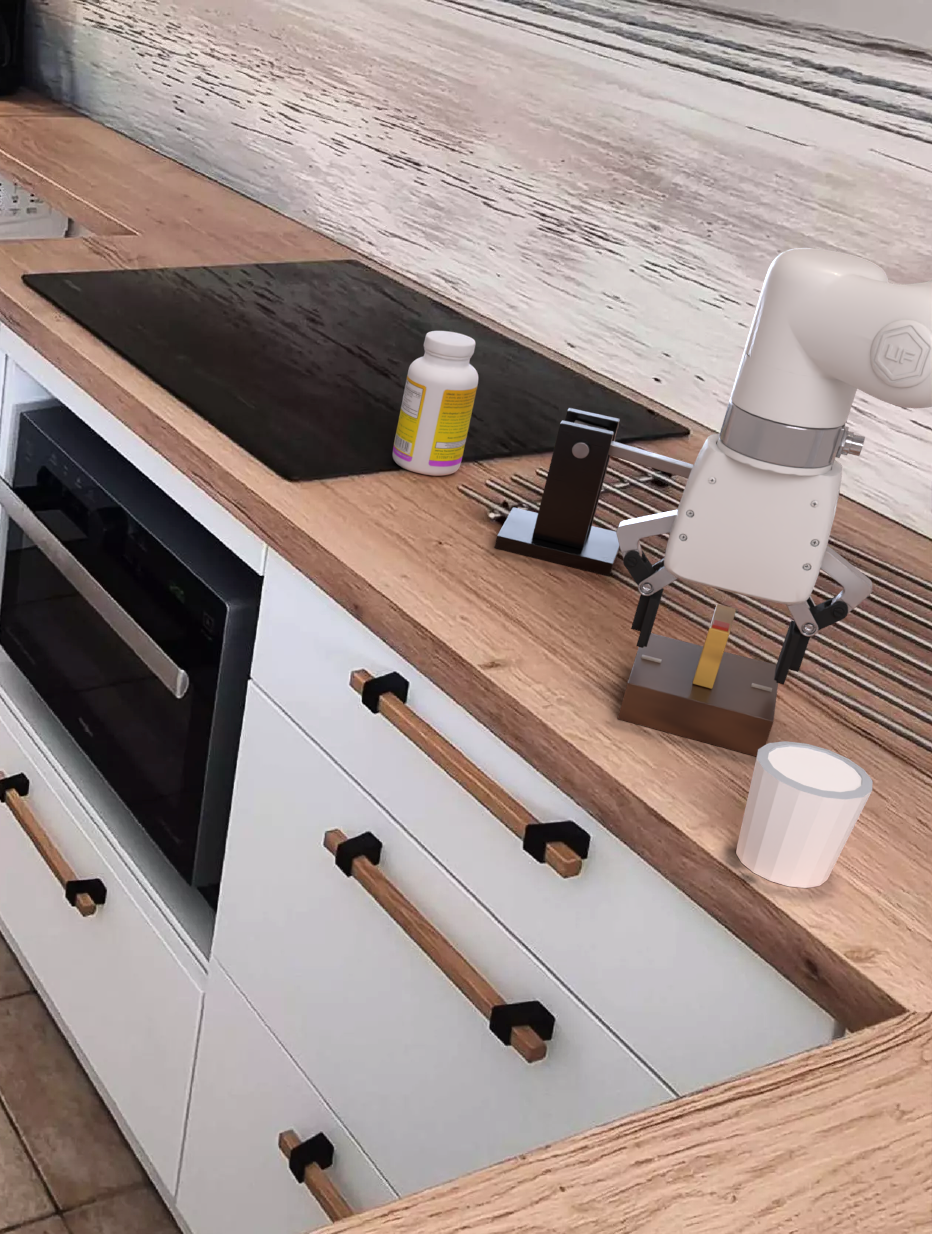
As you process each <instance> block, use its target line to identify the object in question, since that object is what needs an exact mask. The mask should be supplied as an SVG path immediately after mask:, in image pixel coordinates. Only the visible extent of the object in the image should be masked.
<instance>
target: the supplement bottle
mask: <svg viewBox="0 0 932 1234" xmlns="http://www.w3.org/2000/svg"><path fill="white" fill-rule="evenodd" d="M423 349H424V354H423V356H420V357H418V358H416V359H415V360H413V361H412V362H411V363H410V365H409V367H408V371H407V375H406V380H405V386H404V391H403V396H402V402H401V406H400V411H399V416H398V422H397V426H396V431H395V437H394V442H393V447H392V459H393V462H395V463H396V465H397V466H399V467H401V468H402V469H404V470H407V471H409V472H413V473H417V474H421V475H425V476H433V477H435V476H437V477H439V476H440V477H441V476H448V475H452V474H454V473H456V472H457V471H458V470H459V469H460V467H461V464H462V460H463V456H464V450H465V447H466V443H467V437H468V432H469V429H470V423H471V418H472V415H473V414H472V413H473V409H474V404H475V399H476V395H477V390H478V384H479V374H478V370H476V368H475V367H474V366H473V365H472V364H471V363H470V360H471V358H472V356H473V355H474V353H475V349H476V340H475V339H474V338H472V337H471V336H468V335H466V334H463V333H460V332H456V331H455V332H454V331H448V330H432V331H428V332H427V333H426V334H425V338H424V341H423Z"/></svg>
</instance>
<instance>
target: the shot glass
mask: <svg viewBox="0 0 932 1234" xmlns="http://www.w3.org/2000/svg"><path fill="white" fill-rule="evenodd" d="M873 784H874V783H873V779H872V778H871V776H870V775H869V774H868V773H867V772H866V770H865V769H864V768H863V767H862V766H860V765H859V764H857V763H856V762H854V761H853V760H851V759H849V758H848V757H846V756H844V755H841V754H839V753H836V752H835V751H832V750H830V749H827V748H823V747H821V746H817V745H814V744H809V743H806V742H798V741H797V742H795V741H787V740H784V741H777V742H776V741H775V742H767V743H766V745H765V746H763V747H761V748H760V749H758V753H757V757H756V759H755V762H754V768H753V772H752V776H751V780H750V784H749V785H750V786H749V790H748V795H747V798H746V799H747V800H746V805H745V808H744V811H743V817H742V821H741V827H740V830H739V834H738V835H739V836H738V840H737V844H736V851H735V854H736V856H737V858H738V859H739V861H740V863H741V864H742V865H743V866H745V867H746V868H747V869H748V870H749V871H750V872H752V873H754V874H755V875H757V876H759V877H762V878H763V879H765V880H767V881H769V882H773V883H776V884H779V885H783V886H786V887H791V888H801V889H810V888H815V887H820V886H821V885H823V884H825V882H827V881H828V879H829V877H830V875H831V873H832V871H833V869H834V867H835V865H836V864H837V861H838V859H839V858H840V855H841V853H842V852H843V849H844V847H845V846H846V843H847V841H848V840H849V837H850V836H851V834H852V831H853V830H854V828H855V826H856V824H857V822H858V820H859V818H860V816H861V814H862V812H863V810H864V809H865V806H866V804H867V802H868V800H869V798H870V796H871V794H872V792H873Z"/></svg>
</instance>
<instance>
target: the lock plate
mask: <svg viewBox="0 0 932 1234" xmlns="http://www.w3.org/2000/svg"><path fill="white" fill-rule="evenodd" d="M703 646H704V645H701V644H697V643H694V642H693V643H692V642H687V641H684V640H681V639H677V638H673V637H668V636H666V635H665V636H664V635H662V634H658V633H652V632H651V635H650V638H649V641H648V644H647V647H645V646H644V647H643V648H641V647H637V651H636V654H635V657H634V660H633V665H632V668H631V671H630V673H629V676H628V677H629V678H628V680H627V684H626V687H625V690H624V695H623V698H622V701H621V705H620V708H619V712H618V715H617V720H620V721H624V722H628V723H631V724H635V725H639V726H643V727H646V728H650V729H653V730H658V731H661V732H665V733H667V734H672V735H675V736H679V737H682V738H687V739H690V740H694V741H698V742H702V743H706V744H708V745H713V746H715V747H716V746H717V747H719V748H722V749H723V748H724V749H727V750H730V751H734V752H738V753H742V754H746V755H748V756H753V757H756V758H757V753H758V749H760V748H761V747H763V746H765V745H766V744H768V739H769V736H770V733H771V731H772V727H773V725H774V723H775V722H774V721H775V713H776V705H777V696H778V689H779V683H776V681H775V680H774V676H775V669H776V664H774V663H770V662H767V661H764V660H763V661H762V660H759V659H755V658H751V657H748V656H742V655H739V654H736V653H732V652H727V651H724V653H723V656H722V659H721V663H720V666H719V669H718V672H717V675H716V679H715V682H714V685H713V688H712V689H710V688H707V687H703V686H699V685H696V684H693V679H694V676H695V673H696V669H697V666H698V663H699V659H700V656H701V653H702V650H703Z"/></svg>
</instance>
